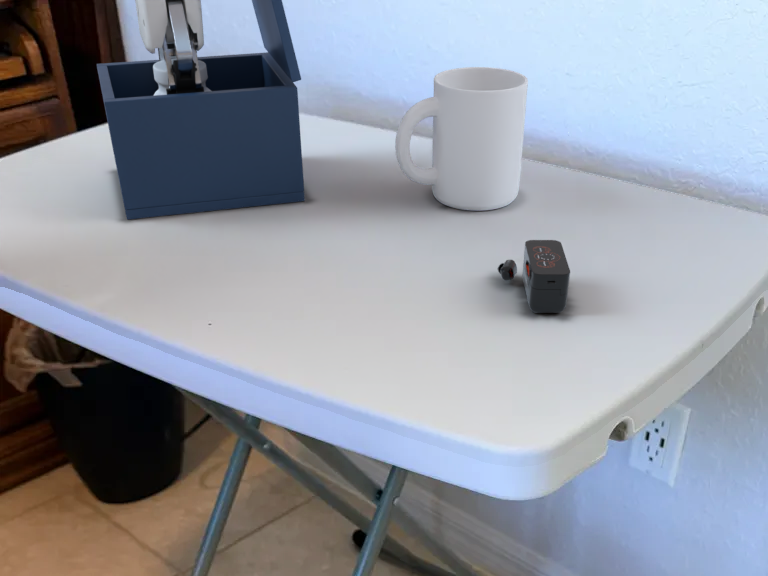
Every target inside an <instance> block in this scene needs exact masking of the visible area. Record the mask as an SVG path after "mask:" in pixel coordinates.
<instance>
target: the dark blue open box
mask: <svg viewBox="0 0 768 576" xmlns="http://www.w3.org/2000/svg"><path fill="white" fill-rule="evenodd" d="M197 58H198V60H201V61H203V62H204V63H205V64H206V68H207V75H208V78H207V80H206V82H205V84H206V87H207V88H209V89H210V90H211V91H208V92H195V93H182V94H169V95H156V96H154V94H155V92H156V91H157V90H158V89H159V86H158V83H157V82H156V81H155V79H154V71H153V65H154V64H155V63H156V62H159V59H150V60H149V59H148V60H135V61H133V60H132V61H121V62H106V63H105V62H103V63H96V69H97V74H98V80H99V84H100V85H99V86H100V90H101V94H102V95H101V96H102V101H103V106H104V110H105V115H106V120H107V127H108V131H109V136H110V141H111V147H112V152H113V158H114V162H115V167H116V172H117V173H116V174H117V178H118V183H119V188H120V192H121V197H122V203H123V207H124V212H125V217H126V220H128V221H129V220H137V219H146V218H156V217H167V216H175V215H183V214H184V215H186V214H194V213H195V214H196V213H203V212H204V213H205V212H213V211H223V210H231V209H232V210H233V209H241V208H251V207H261V206H269V205H271V206H272V205H279V204H280V205H281V204H289V203H298V202H305V198H306V197H305V184H304V168H303V166H304V165H303V153H302V138H301V123H300V122H301V121H300V107H299V93H298V86H297V85H296V84H295V82H292V81H291V80H290V79H289V77H288V76H287V75H286V74H285V72H284V71H283V70H282V69H281V68H280V66H279V65H278V64H277V63H276V61H275V60H274V59H273V58H272V56H271V55H270V54H269V53H268V51H267V52H255V53H254V52H253V53H238V54H237V53H236V54H224V55H223V54H222V55H209V56H208V55H207V56H197Z"/></svg>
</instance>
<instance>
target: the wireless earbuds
mask: <svg viewBox="0 0 768 576" xmlns="http://www.w3.org/2000/svg"><path fill="white" fill-rule="evenodd" d="M497 272H498V274H500V277H501V279H502V280H503V281H505V282H509V281H512V280H514V278H515V277H516V275H517V273H518V267H517V263H516V262H515V261H514V260H513V259H506V260H505V261H504V262H502V263H500V264H499V265H498V266H497ZM521 277H522V282H523V286H524V291H525V296H526V299H527V304H528V307H529V309H530V312H533V313H534V314H535V313H536V314H560V313H563V312H564V311H565V309H566V307H567V302H568V294H569V285H570V278H571V269H570V266H569V263H568V260H567V257H566V253H565V251H564V247H563V245H562V241H559V240H556V239H529V240H527V241H525V242H524V250H523V264H522V276H521Z"/></svg>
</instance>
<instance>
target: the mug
mask: <svg viewBox="0 0 768 576" xmlns="http://www.w3.org/2000/svg"><path fill="white" fill-rule="evenodd" d="M528 87H529V80H528V77H527V76H526V75H524V74H522V73H520V72H517V71H514V70H510V69H506V68H500V67H488V66H469V67H468V66H467V67H458V68H452V69H451V68H450V69H446V70H444V71H443V70H442V71H441V72H438V73H436V74H435V75H434V77H433V96H430V97H427V98H424V99H422V100H419V101H418V102H416V103H414V104H413V105H412V106H411V107H410V108H408V110H407V111H406V112H405V113H404V115H403V116H402V118H401V120H400V122H399V124H398V126H397V127H398V128H397V131H396V133H395V143H394V149H395V155H396V160H397V161H396V162H397V164H398V166H399V169H400V170H401V172H402V174H403V175H405V177H406V178H408V179H409V180H410V181H412V182H414V183H416V184H419V185H426V186H427V185H428V186H429V185H431V190H432V191H431V192H432V194H433V196H434V198H435V199H436V200H437V201H438V202H439V203H441V204H442V205H444V206H447V207H450V208H453V209H457V210H462V211H475V212H476V211H477V212H480V211H492V210H498V209H502V208H504V207H507V206H508V205H510V204H512V203H513V202H514V201H515V200H516V198H517V196H518V194H519V189H520V184H521V173H522V161H523V148H524V136H525V135H524V134H525V126H526V125H525V123H526V112H527V111H526V110H527V99H528ZM428 118H432V141H431V142H432V143H431V144H432V145H431V167H426V168H425V167H420V166H418V165H417V164H416V163H415V162H414V160H413V159H412V155H411V154H412V153H411V139H412V135H413V133H414V131H415V128H416V127H417V126H418V124H419V123H420V122H422V121H423V120H425V119H428Z"/></svg>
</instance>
